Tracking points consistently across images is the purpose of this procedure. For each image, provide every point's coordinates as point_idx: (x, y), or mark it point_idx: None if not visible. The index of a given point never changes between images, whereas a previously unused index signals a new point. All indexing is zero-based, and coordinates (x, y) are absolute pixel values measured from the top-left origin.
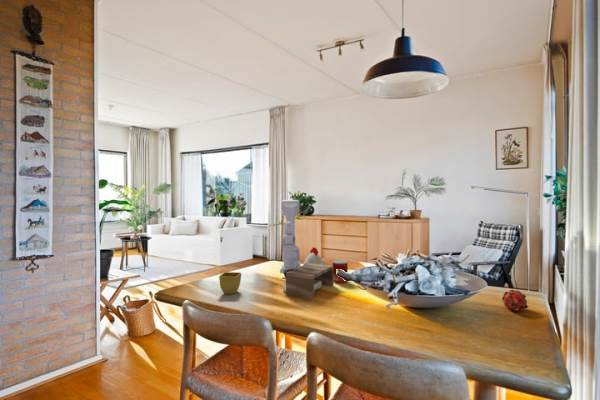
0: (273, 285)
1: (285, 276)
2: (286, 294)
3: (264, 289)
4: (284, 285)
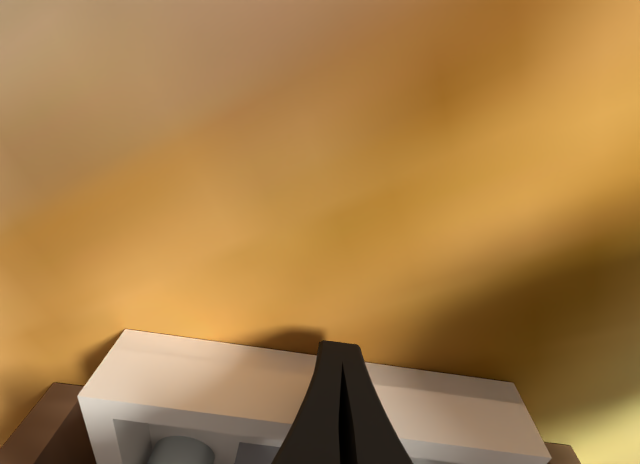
0: (346, 77)
1: (277, 460)
2: (51, 389)
3: (35, 27)
4: (93, 408)
